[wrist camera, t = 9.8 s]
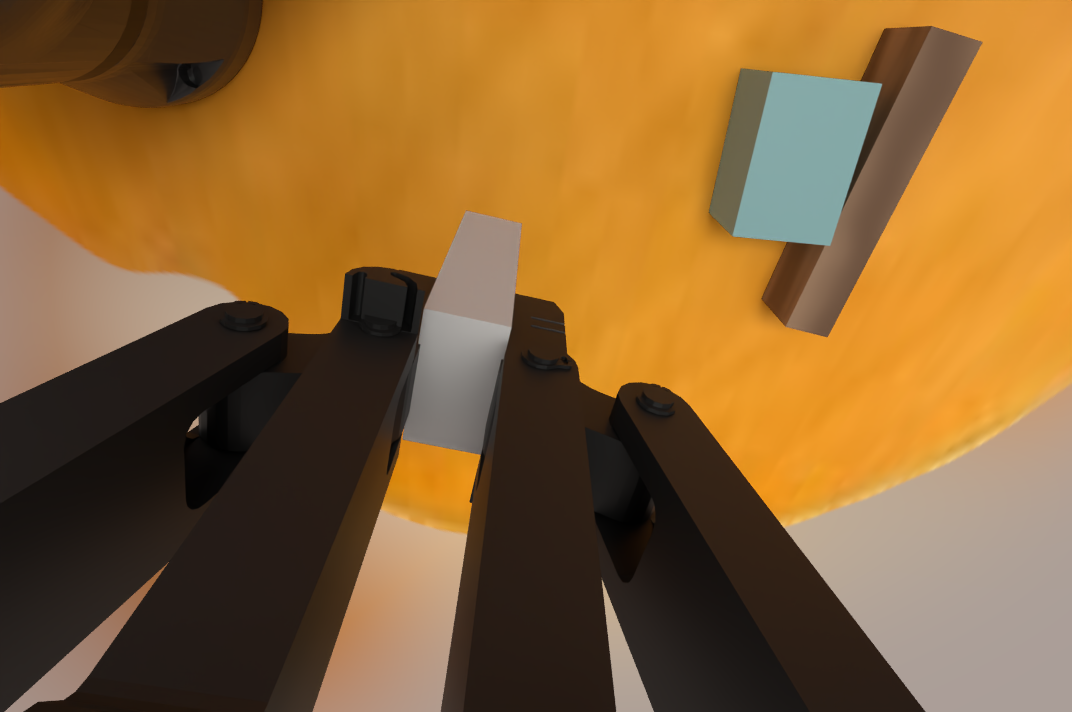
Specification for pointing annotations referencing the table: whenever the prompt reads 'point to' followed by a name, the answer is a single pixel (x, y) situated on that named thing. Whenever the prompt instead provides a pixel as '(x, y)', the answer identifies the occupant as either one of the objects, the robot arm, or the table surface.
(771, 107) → the block
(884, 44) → the board
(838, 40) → the table surface
